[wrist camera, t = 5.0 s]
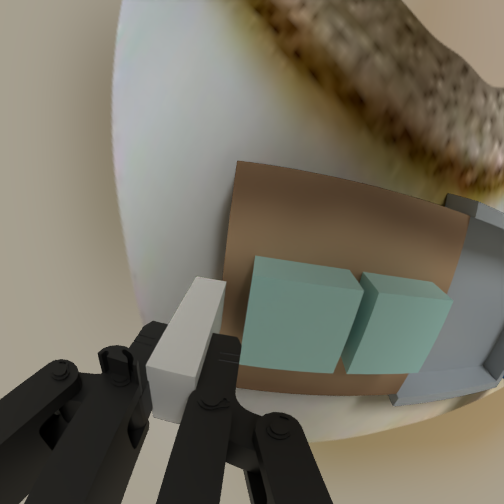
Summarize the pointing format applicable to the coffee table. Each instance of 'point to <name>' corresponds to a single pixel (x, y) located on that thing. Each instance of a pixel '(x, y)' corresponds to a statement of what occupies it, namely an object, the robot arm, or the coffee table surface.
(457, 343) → the tray
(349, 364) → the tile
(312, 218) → the walnut board
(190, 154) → the coffee table surface
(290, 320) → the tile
